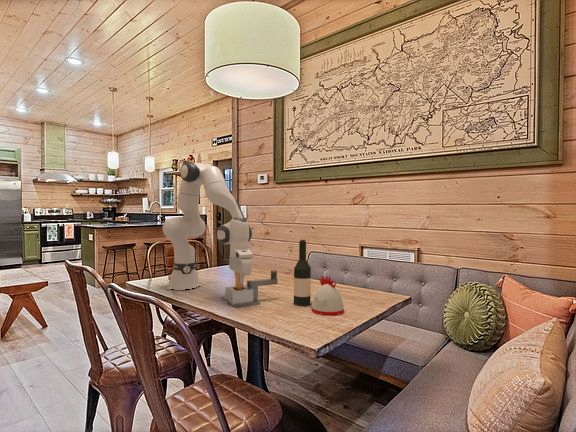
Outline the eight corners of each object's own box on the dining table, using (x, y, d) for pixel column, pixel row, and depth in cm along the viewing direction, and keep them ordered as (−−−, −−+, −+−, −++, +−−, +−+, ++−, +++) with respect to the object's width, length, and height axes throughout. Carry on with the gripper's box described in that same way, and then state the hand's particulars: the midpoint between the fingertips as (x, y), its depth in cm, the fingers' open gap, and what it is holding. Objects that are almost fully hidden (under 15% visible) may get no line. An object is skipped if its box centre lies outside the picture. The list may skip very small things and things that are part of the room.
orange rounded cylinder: (241, 290, 163) (241, 269, 163) (244, 292, 160) (244, 270, 160) (234, 291, 161) (234, 270, 161) (236, 292, 158) (237, 271, 158)
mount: (221, 298, 169) (221, 279, 169) (245, 295, 175) (245, 277, 175) (233, 307, 153) (233, 286, 153) (260, 304, 159) (260, 283, 159)
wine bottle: (290, 304, 159) (290, 240, 159) (298, 300, 166) (298, 238, 166) (306, 307, 155) (307, 240, 155) (313, 302, 162) (314, 239, 162)
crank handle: (249, 285, 164) (249, 272, 164) (275, 283, 171) (275, 270, 171) (251, 286, 162) (251, 273, 162) (277, 284, 168) (278, 271, 168)
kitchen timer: (323, 305, 159) (323, 272, 159) (349, 310, 150) (350, 276, 150) (305, 311, 148) (305, 277, 148) (332, 318, 140) (333, 281, 139)
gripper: (226, 250, 168) (225, 278, 168) (240, 255, 150) (240, 286, 150) (238, 249, 171) (238, 277, 171) (254, 254, 153) (254, 285, 153)
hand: (239, 281), depth 160 cm, fingers closed on orange rounded cylinder, 4 cm apart
